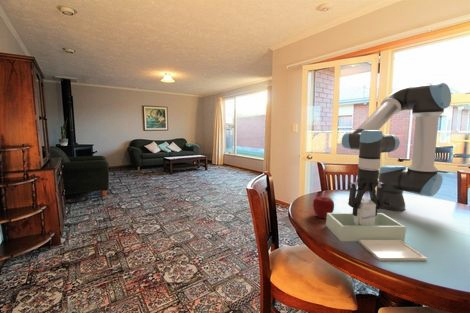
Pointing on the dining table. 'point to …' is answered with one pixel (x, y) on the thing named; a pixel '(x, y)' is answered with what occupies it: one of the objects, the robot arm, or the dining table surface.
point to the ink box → (367, 212)
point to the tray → (392, 250)
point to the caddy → (364, 228)
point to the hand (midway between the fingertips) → (363, 222)
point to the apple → (323, 206)
